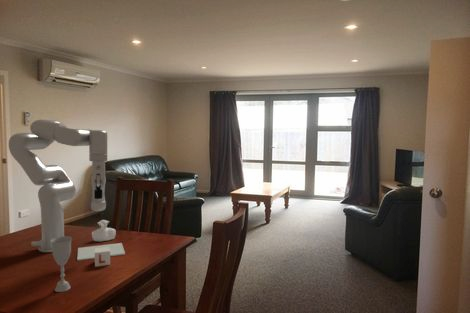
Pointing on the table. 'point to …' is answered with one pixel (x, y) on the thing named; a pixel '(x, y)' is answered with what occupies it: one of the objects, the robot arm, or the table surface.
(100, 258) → the lettered cube
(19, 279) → the table surface
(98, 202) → the metal bottle
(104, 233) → the bust
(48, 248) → the robot arm
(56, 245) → the chalice
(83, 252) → the sage mat
